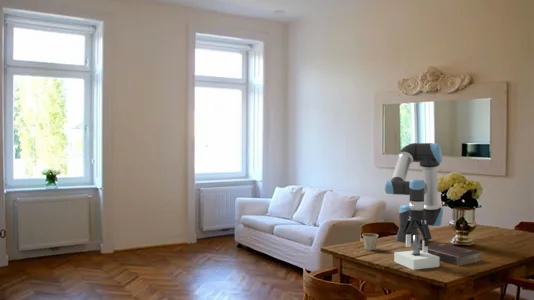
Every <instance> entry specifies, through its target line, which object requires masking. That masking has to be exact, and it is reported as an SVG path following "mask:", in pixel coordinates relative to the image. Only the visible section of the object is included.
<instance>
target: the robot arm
mask: <svg viewBox="0 0 534 300" xmlns="http://www.w3.org/2000/svg"><path fill="white" fill-rule="evenodd" d="M442 162H443V152H442V148H441V145H440V144H439V143H433V142H429V143H428V142H425V143H422V142H420V143H419V142H417V143H416V142H413V143H408V144H407V145H405V146H403V148H401V149H400V150H399V152H398V153H397V155H396V165H395V167H394V170H393V173H392V176H391V179H389V180H386V181H385V183H384V192H385V193H386V194H387V195H398V196H399V195H401V196H404V195H405V196H409V199H408V200H409V203H407V204H402V205H400V206H399V212H398V215H399V216H398V217H399V218H398V219H399V221H398V227H399V228H398V230H397V234H396V237H395V240H396V241H398V242H402V243H405V247H406V248H410V247H412V244H413V235H420V242H421V240H422V245H423V249H422V253H427V252H428V244H429V241H430V240H432V235H431V231H430V228H429V227H440V226H441V225H442V221H443V217H444V215H443V214H444V208H443V207H441V204H440V203H439V190H438V191H437V184H438V168H439V166H440V164H441V163H442ZM413 163H419V167H421V168H422V169H421V171H422V178H419V179H417V178H414V179H410V180H409V181H407V180H406V179H407V176H408V173H409V169H410V167H411V164H413ZM421 236H422V237H421Z"/></svg>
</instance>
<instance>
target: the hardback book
mask: <svg viewBox="0 0 534 300" xmlns="http://www.w3.org/2000/svg"><path fill="white" fill-rule="evenodd" d="M422 249H423V244H420V250H421V251H422ZM427 253H429V254H432V255H435V256H438V257H439V262H440V261H441V262H444V263H447V264H451V265H455V266H457V265H458V267H459V265H460V266H464V265H468V264H473V262H474V263H477V261H478V262H481V261H482V252H480V251H477V250H476V251H475V250H473V249H472V250H471V249H468V248H464V247H461V246H460V247H458V246H455V245H451V244H446V243H442V242H438V241H435V242H431V243H428V252H427Z"/></svg>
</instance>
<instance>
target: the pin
mask: <svg viewBox="0 0 534 300" xmlns="http://www.w3.org/2000/svg"><path fill="white" fill-rule="evenodd" d="M420 237H421V234H420V235H413V243H412V251H413V255H414V256H420V245H421V241H420Z"/></svg>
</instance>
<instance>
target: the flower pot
mask: <svg viewBox="0 0 534 300" xmlns="http://www.w3.org/2000/svg"><path fill="white" fill-rule="evenodd" d="M361 236H362V238H363V244H364V245H363V246H364V250H366V251H373V250H374V251H376V249H377V241H378V237H379V234H377V233H362V234H361Z"/></svg>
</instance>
